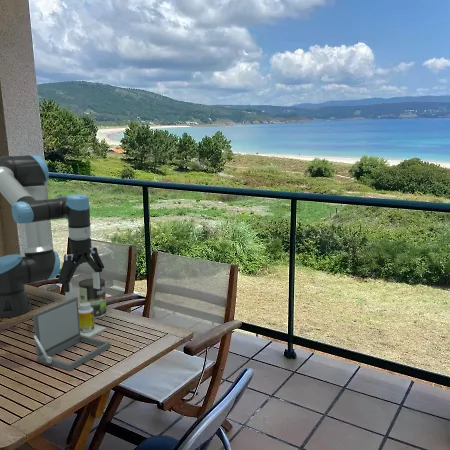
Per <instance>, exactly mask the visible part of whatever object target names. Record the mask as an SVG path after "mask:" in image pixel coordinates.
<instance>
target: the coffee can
mask: <svg viewBox="0 0 450 450" xmlns="http://www.w3.org/2000/svg"><path fill="white" fill-rule="evenodd" d="M78 289H79V302H80V303H79V305H80V304H81V303H84V302H89V303H90V304H91V307H92V308H93V314H94V320H95V319H100V318H103V317H105V316H106V315H107V314H108V312H107V302H106V301H107V298H106V295H107V294H106V280H105V279H104V278H101V277H100V289H95V288H93V277H92V278H91V277H90V278H85V279H81V280H80V281H78Z"/></svg>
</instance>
